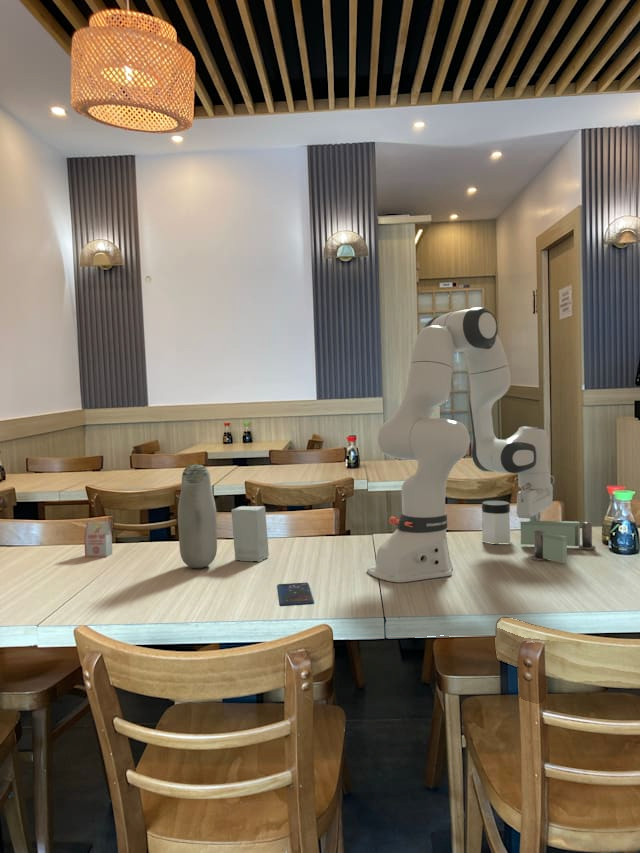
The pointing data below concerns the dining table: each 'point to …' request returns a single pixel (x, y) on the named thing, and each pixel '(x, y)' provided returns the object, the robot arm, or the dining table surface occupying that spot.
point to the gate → (550, 530)
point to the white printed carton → (98, 539)
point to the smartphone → (294, 594)
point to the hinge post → (587, 536)
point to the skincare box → (250, 533)
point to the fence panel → (554, 547)
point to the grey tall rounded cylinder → (197, 518)
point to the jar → (496, 522)
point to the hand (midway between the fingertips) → (535, 527)
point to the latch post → (538, 547)
